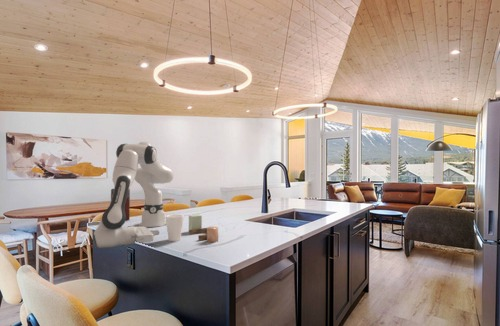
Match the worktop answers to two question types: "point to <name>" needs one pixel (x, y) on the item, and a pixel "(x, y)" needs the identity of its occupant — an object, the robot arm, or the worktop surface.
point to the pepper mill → (127, 204)
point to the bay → (196, 231)
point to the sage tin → (195, 221)
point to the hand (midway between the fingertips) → (158, 232)
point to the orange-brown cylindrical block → (212, 234)
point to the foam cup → (174, 226)
